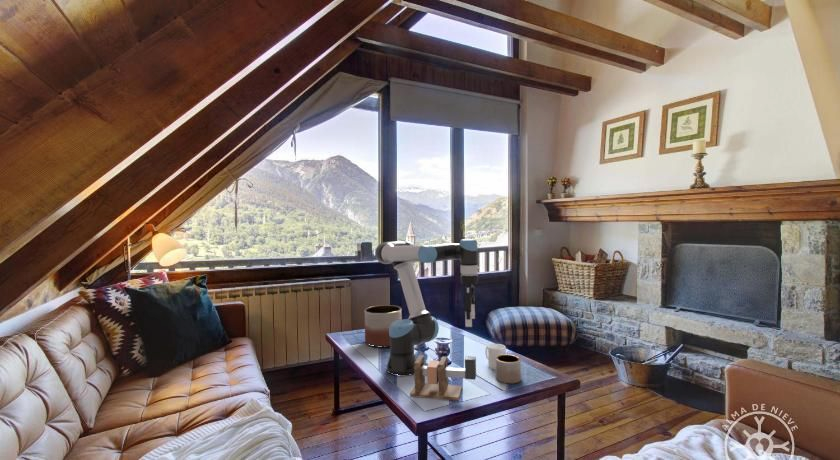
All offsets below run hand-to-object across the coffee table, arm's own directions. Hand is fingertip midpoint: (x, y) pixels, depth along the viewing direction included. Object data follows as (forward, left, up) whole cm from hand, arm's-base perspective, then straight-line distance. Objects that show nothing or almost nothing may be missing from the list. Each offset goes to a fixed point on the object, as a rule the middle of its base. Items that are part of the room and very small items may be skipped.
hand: (470, 322), depth 174 cm
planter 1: (-57, +47, -27) cm, 79 cm away
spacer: (-14, -13, -22) cm, 29 cm away
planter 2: (+16, +6, -27) cm, 32 cm away
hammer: (-9, -13, -19) cm, 25 cm away
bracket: (-13, -13, -27) cm, 32 cm away
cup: (+9, +21, -27) cm, 35 cm away
